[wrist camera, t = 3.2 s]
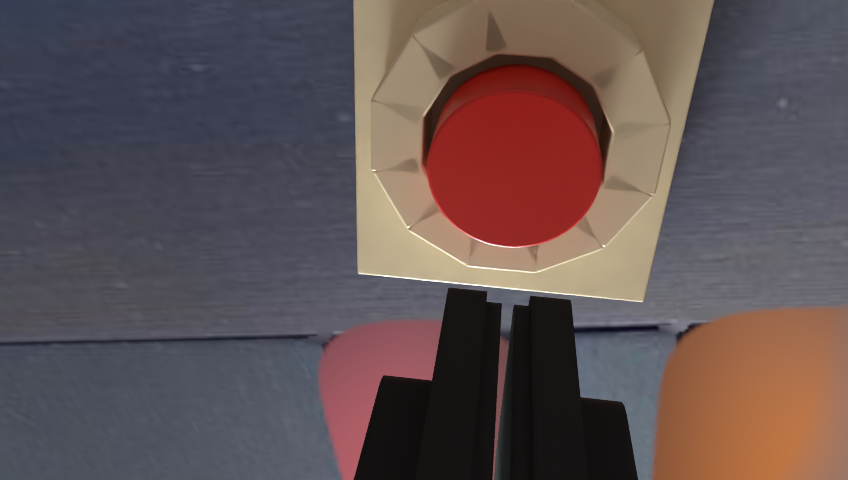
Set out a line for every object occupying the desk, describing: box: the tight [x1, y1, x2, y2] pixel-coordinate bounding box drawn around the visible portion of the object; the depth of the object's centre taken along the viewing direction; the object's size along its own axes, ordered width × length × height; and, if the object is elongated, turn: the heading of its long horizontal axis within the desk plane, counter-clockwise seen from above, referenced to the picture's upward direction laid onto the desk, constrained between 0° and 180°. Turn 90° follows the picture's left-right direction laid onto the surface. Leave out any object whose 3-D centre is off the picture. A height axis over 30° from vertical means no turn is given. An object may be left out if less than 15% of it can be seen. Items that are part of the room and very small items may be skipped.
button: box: [427, 64, 603, 248], centre depth 15 cm, size 4×4×2 cm
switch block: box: [353, 0, 714, 302], centre depth 18 cm, size 10×8×4 cm
